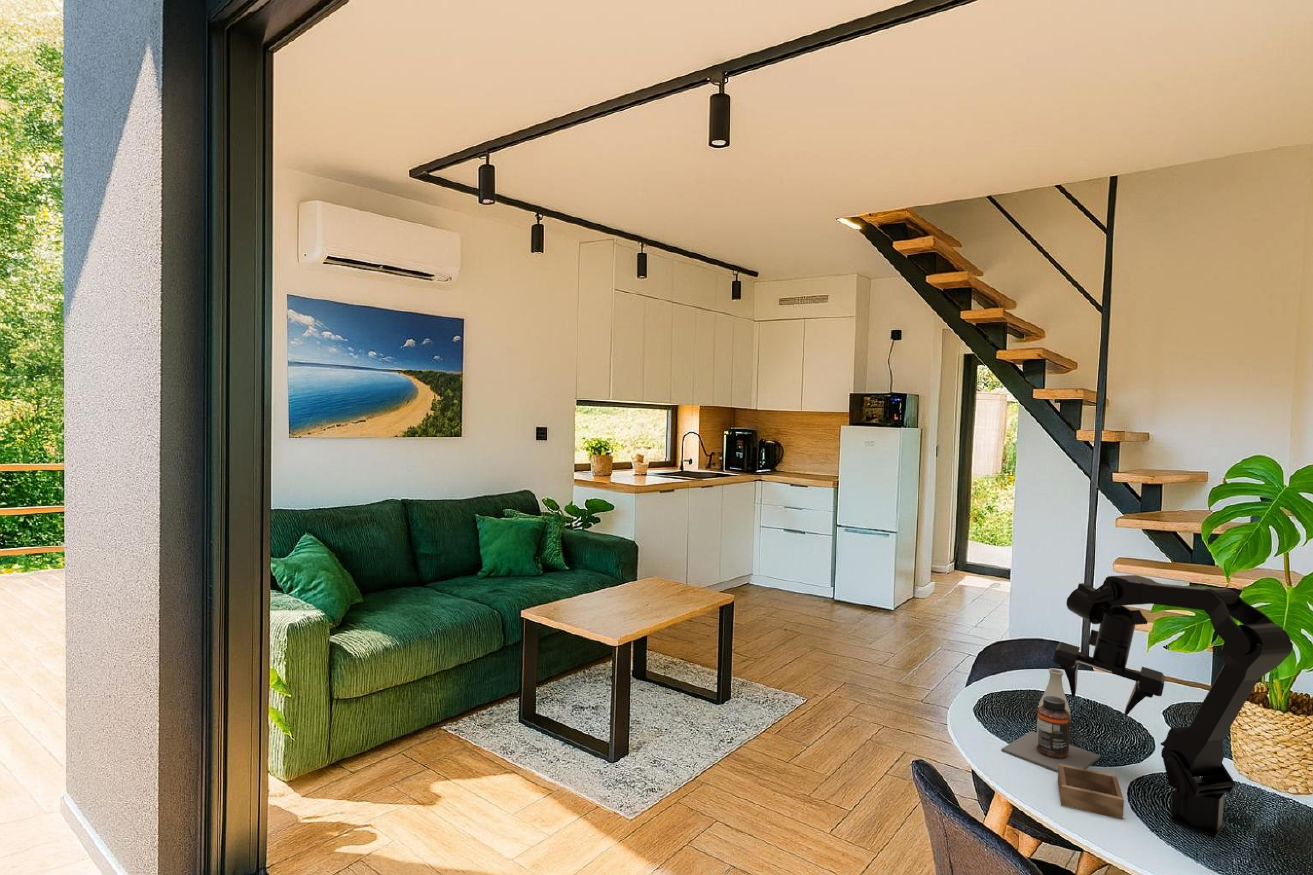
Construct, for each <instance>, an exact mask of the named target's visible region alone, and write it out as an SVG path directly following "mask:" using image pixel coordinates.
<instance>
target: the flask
mask: <svg viewBox="0 0 1313 875" xmlns="http://www.w3.org/2000/svg"><path fill="white" fill-rule="evenodd" d="M1048 673H1049V679H1048V683H1047V686H1046V688H1045V691H1044V692H1043V694H1042V696H1041V698H1040V700H1039V702H1038V704H1039V705H1038V704H1037V705H1038V706H1037V709H1038V708H1039V707H1040V706H1042V705H1043V699H1044V697H1045V696H1055V697H1058V698H1061V699H1063V700H1064V701H1065V710H1066V711H1068V713H1069V715H1070V716H1071V713H1070V712H1071V710H1070V706H1069V704H1068V700H1067V698H1066V694H1065V690H1064V687H1063V686H1064V685H1063V676H1064V670H1063V669H1061V668H1049V669H1048Z"/></svg>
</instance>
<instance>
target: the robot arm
mask: <svg viewBox="0 0 1313 875" xmlns="http://www.w3.org/2000/svg"><path fill="white" fill-rule="evenodd" d="M1138 605H1139V606H1141V605H1142V606H1143V605H1157V606H1165V607H1166V606H1167V607H1173V608H1174V607H1175V608H1182V609H1192V610H1199V611H1204V612H1205V613H1206V614H1207V615H1208V617H1209V620H1210V622H1211V625H1212V627H1213V630H1214V632H1215V633H1216V634H1217V635H1218V637H1220V639H1221V640H1222V641H1223V643H1222V647H1221V652H1222V658H1223V666H1222V668H1221V669H1220V671H1219V673H1218V675H1217V676H1216V678H1215V680H1214V682H1213V684H1212V685H1211V687H1210V689H1209V690H1208V693H1207V694H1206V696H1205V698H1204V699H1203V701H1202V703H1201V704H1200V707H1199V708H1198V710H1197V712H1196V714H1195V716H1194V717H1193V719H1192V721H1190V724H1189V725H1186V726H1177V727H1171V728H1170V729H1169V730H1168V731H1167V735H1166V738H1165V739H1164V741H1162V742H1160V746H1162V749H1161V758H1162V760H1163V764H1164V769H1165V772H1166V778H1167V781H1168V785H1170V786H1171V787H1173V790H1171V800H1170V801H1171V802H1170V803H1171V804H1170V812H1171V814H1172V816H1170V821H1171V822H1174V823H1176V824H1178V825H1181V826H1183V827H1186V828H1188V829H1191V830H1194V831H1197V832H1198V833H1201V834H1204V835H1206V836H1209V837H1211V838H1217V837H1218V835H1219V834H1220V833H1221V831H1222V830H1223V829H1224V828H1225V826H1226V822H1225V821H1223V818H1224V817H1223V816H1224V801H1225V794H1231V793H1232V792H1234V789H1235V787H1236V782H1235V781H1234V779H1233V777H1232V776H1231V774H1230V772H1228V770H1227V768H1226V767H1225V765H1224V764H1223V761H1224V758H1225V750H1224V744H1223V741H1224V740H1225V739H1224V738H1225V737H1226V736H1227V734H1228V732H1229V730H1230V728H1231V727H1232V725H1233V724H1234V722H1235V721H1236V718H1237V717H1238V715H1239V713H1240V712H1241V710H1242V709H1243V707H1244V705H1245V703H1246V702H1247V700H1248V698H1249V697H1250V695H1251V694H1252V692H1253V690H1254V688H1255V687H1256V685H1257V684H1258V682H1259V680H1260V679H1261V678H1262V677H1264V676H1266V675H1267V674H1268V673H1270V672H1272V671H1274V670H1275V669H1276V668H1278V667H1279V666H1280V665H1281V664H1282V663H1283V662H1284V661H1285V660H1286V659H1287V658H1288V657H1289V656H1290V655H1291V653H1292V651H1293V649H1294V643H1293V642H1292V641H1291V638H1290V636H1289V634H1288V633H1287V631H1286V630H1285V629H1284V628H1282V627H1281V626H1279V625H1277V624H1276V623H1275V622H1274V621H1273V620H1272V619H1271V618H1270V617H1269V616H1268V615H1267V614H1265V613H1263V612H1262V611H1261V610H1259V609H1257V608H1256V607H1254V606H1253V605H1252V604H1249V603H1248V602H1246V601H1245V600H1244V599H1243V598H1242V597H1241V596H1240V595H1239V594H1238V593H1237V592H1236V591H1234V590H1232V589H1230V588H1227V587H1226V588H1225V587H1222V588H1220V587H1219V588H1217V587H1215V588H1212V587H1201V586H1200V587H1199V586H1191V585H1190V586H1189V585H1179V584H1168V583H1160V582H1156V581H1155V580H1153V579H1152V578H1149V577H1144V576H1142V575H1137V574H1135V575H1134V574H1129V575H1128V574H1127V575H1108V576H1106V577H1105V579H1104V581H1103V583H1102V585H1100V586H1098V588H1095V587H1093V585H1091V584H1089V583H1087V582H1083V583H1080V582H1079V583H1078V586H1077V588H1075V589H1074V590H1072V591H1071V593H1070V594H1069V596H1068V597H1067V599H1066V607H1067V609H1068V610H1069V611H1070V612H1072V613H1073V614H1076V615H1077V616H1079V617H1080V618H1082V619H1084V620H1086V621H1087V622H1089V623H1091V624H1092V625H1099V628H1098V631H1097V630H1095V629H1091V630H1090V634H1089V637H1088V645H1090V646H1093V647H1094V650H1093V653H1092V656H1091V655H1090V656H1089V655H1086V654H1083V653H1080V646H1077V645H1073V644H1070V643H1067V642H1063V641H1061V642H1058V644H1057V646H1056V648H1055V650H1054V651H1055V652H1054V655H1053V659H1052V662H1054V664H1056V665H1059V666H1058V667H1059V669H1060V670H1062V671H1064V673H1065V676H1066V678H1067V680H1068V685H1069V689H1070V693H1071V698H1072V699H1075V696H1076V693H1077V686H1078V672H1079V671H1078V669H1079V664H1080V665H1084V666H1087V667H1091V668H1093V669H1096V670H1099V671H1102V672H1105V673H1109V674H1112V675H1115V676H1118V677H1121V678H1125V679H1127V680H1131V681H1134V682H1135V684H1134V686H1133V689H1132V692H1131V694H1130V695H1129V698H1128V701H1127V703H1126V706H1125V709H1124V716H1125V717H1126V716H1128V715H1129V714H1130V712H1132V710H1133V709H1134V708H1135V707H1136V706H1137V705H1138V704H1139V703H1140V702H1142V701H1143V700H1144V699H1145V698H1150V699H1151V698H1153V697H1154V696H1156V697H1162V695H1163V692H1164V687H1165V678H1166V676H1165V675H1164V672H1161V671H1158V670H1155V669H1152V668H1149V667H1145V666H1141V668H1140V669H1141V670H1140V671H1138V670H1134V669H1131V668H1128V667H1126V666H1127V664H1128V661H1129V660H1128V658H1129V655H1130V650H1131V646H1132V643H1133V642H1132V641H1133V637H1134V633H1135V628H1136V626H1139V625H1148V620H1147V618H1146V617H1145V616H1144V615H1143V614H1142V610H1140V609H1134V610H1131V609H1130V608H1128V607H1126V606H1138ZM1233 619H1235V620H1236V621H1238V622H1240V623H1241V624H1237V623H1236V622H1235V620H1233Z"/></svg>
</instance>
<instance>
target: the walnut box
mask: <svg viewBox="0 0 1313 875" xmlns="http://www.w3.org/2000/svg"><path fill="white" fill-rule="evenodd" d="M1119 782H1120V781H1119V779H1118V776H1117V775H1115V774H1109V773H1105V772H1101V771H1096V770H1091V769H1087V768H1086V769H1082V768H1077V767H1072V766H1067V765H1063V764H1058V773H1057V787H1058V788H1057V789H1058V793H1059V795H1058V796H1059V802H1060V806H1064V807H1067V808H1071V809H1075V810H1076V809H1077V810H1080V811H1084V812H1089V813H1092V814H1093V813H1094V814H1097V815H1103V816H1107V817H1111V818H1116V819H1120V820H1123V819H1124V806H1125V800H1124V799H1125V798H1124V795H1123V792H1122V788H1121V785H1120V783H1119Z"/></svg>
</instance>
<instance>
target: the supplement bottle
mask: <svg viewBox="0 0 1313 875" xmlns="http://www.w3.org/2000/svg"><path fill="white" fill-rule="evenodd" d="M1036 722H1037V723H1036V724H1037V725H1036V733H1037V736H1036V737H1037V749H1038V751H1039V752H1040V753H1042V754H1044V755H1046V756H1049V757H1054V758H1064V757H1067V756H1068V753H1069V745H1070V724H1071V714H1070V715H1069V713H1068V711H1066V710H1065V701H1064V700H1063V699H1061V698H1058V697H1055V696H1045V697H1044V699H1043V705H1042V706H1040V707H1039V709H1038V708H1037V720H1036Z"/></svg>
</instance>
